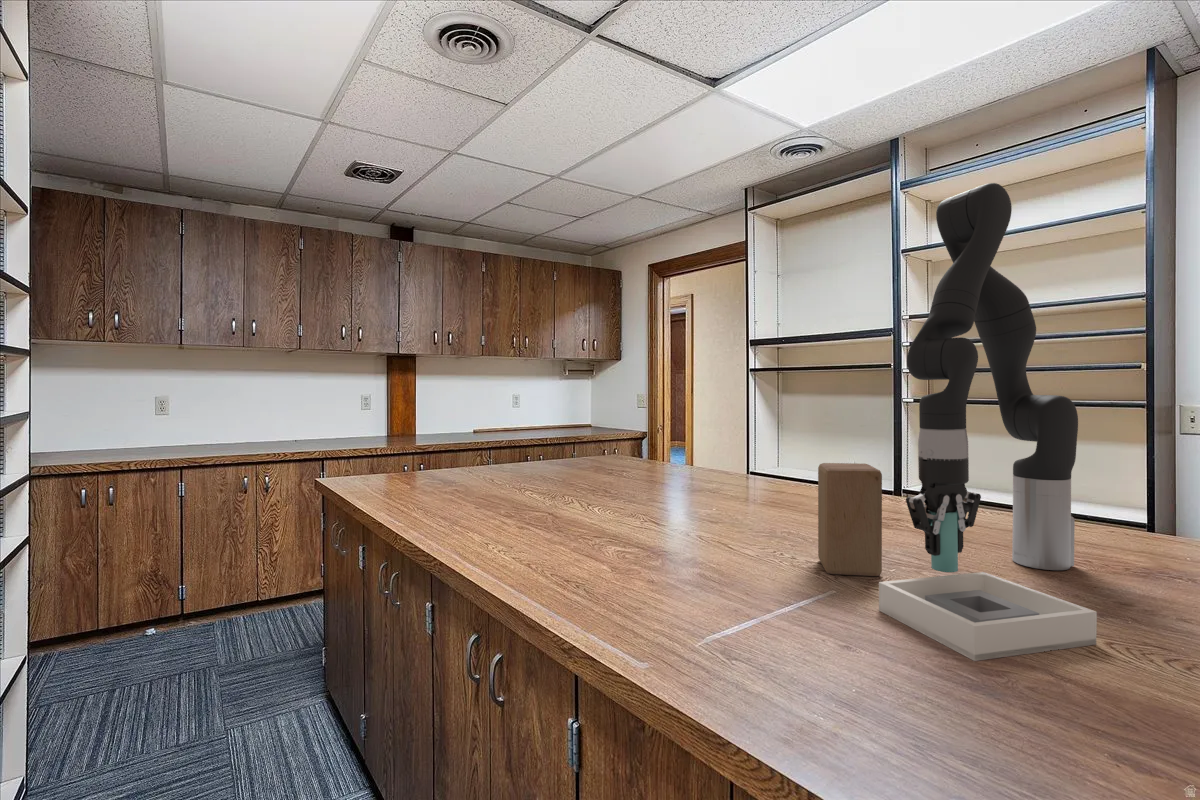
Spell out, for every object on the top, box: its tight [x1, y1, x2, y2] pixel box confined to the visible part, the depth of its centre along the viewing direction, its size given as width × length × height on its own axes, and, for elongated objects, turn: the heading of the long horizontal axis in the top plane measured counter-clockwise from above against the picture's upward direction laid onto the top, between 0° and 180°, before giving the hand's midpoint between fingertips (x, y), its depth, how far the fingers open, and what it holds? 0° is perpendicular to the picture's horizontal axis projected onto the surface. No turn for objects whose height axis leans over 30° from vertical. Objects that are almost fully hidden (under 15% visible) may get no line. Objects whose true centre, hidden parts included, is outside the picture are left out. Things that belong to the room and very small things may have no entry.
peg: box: [930, 512, 959, 573], centre depth 104 cm, size 4×4×10 cm
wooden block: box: [817, 462, 883, 577], centre depth 116 cm, size 10×10×20 cm
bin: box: [878, 571, 1098, 662], centre depth 88 cm, size 20×18×4 cm
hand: (944, 552), depth 104 cm, fingers closed on peg, 4 cm apart
